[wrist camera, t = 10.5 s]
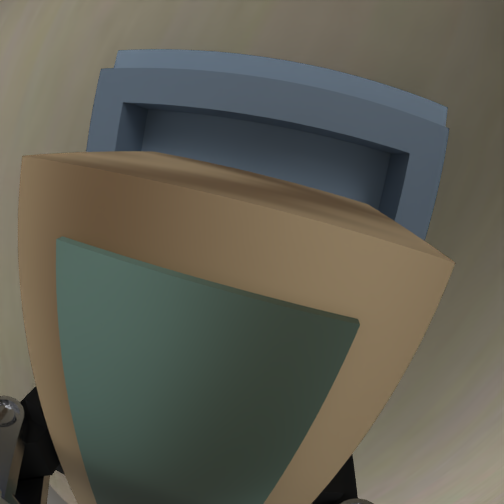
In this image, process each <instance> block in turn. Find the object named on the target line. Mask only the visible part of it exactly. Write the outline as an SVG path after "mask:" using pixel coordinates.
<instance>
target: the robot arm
mask: <svg viewBox="0 0 504 504" xmlns="http://www.w3.org/2000/svg"><path fill="white" fill-rule="evenodd" d="M55 470H57V471H59V472H61V473H62V474H64V475H65V473H64V471H63V468H62V466H61V463H60V461H59V458H58V455H57V453H56V450H55V447H54V444H53V442H52V439H51V436H50V433H49V430H48V426H47V423H46V420H45V417H44V413H43V410H42V406H41V403H40V399H39V395H38V391H37V387H35V388H34V389H33V390H32V391H31V392H30V393H29V394H28V395H27V396H26V397H25V398H24V399H23V400H22V401H21V402H19V401H18V400H16V399H15V398H12V397H9V396H0V504H47V495H48V487H49V479H50V475H52V474H53V473H54V471H55ZM311 504H373V503H372V502H370V501H367V500H364V499H359V498H358V497H357V488H356V479H355V471H354V464H353V456H352V455H351V456H350V457H349V459H348V460H347V461H346V462H345V464H344V465H343V466H342V468H341V469H340V470H339V471H338V473H337V474H336V475H335V476H334V478H333V479H332V480H331V481H330V482H329V484H328V485H327V486H326V487H325V488H324V490H323V491H322V492H321V493H320V494H319V495H318V497H317V498H316V499H315V500H314V501H313V502H312V503H311Z"/></svg>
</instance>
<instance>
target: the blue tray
mask: <svg viewBox="0 0 504 504" xmlns="http://www.w3.org/2000/svg"><path fill="white" fill-rule="evenodd" d="M447 110H448V107H445V106H443V105H441V104H438V103H436V102H433V101H431V100H428V99H425V98H423V97H420V96H417V95H415V94H412V93H409V92H406V91H403V90H400V89H398V88H395V87H391V86H388V85H385V84H382V83H379V82H375V81H372V80H369V79H365V78H362V77H358V76H354V75H351V74H347V73H343V72H339V71H335V70H331V69H326V68H322V67H317V66H313V65H308V64H303V63H297V62H292V61H286V60H280V59H274V58H268V57H261V56H253V55H245V54H236V53H226V52H214V51H199V50H172V49H144V50H118V53H117V57H116V61H115V65H114V68H106V69H101V71H100V76H99V80H98V85H97V90H96V95H95V100H94V105H93V110H92V116H91V122H90V129H89V135H88V142H87V150H86V152H106V151H154V152H159V153H164V154H170V155H175V156H180V157H185V158H190V159H195V160H200V161H204V162H209V163H214V164H218V165H223V166H227V167H232V168H236V169H240V170H245V171H249V172H253V173H257V174H261V175H265V176H269V177H273V178H277V179H281V180H285V181H289V182H293V183H296V184H300V185H304V186H307V187H311V188H315V189H318V190H322V191H325V192H329V193H332V194H336V195H339V196H343V197H346V198H349V199H353V200H356V201H359V202H362V203H366V204H368V205H370V206H371V207H373V208H375V209H376V210H378V211H380V212H381V213H383V214H384V215H386V216H387V217H389V218H391V219H392V220H394V221H395V222H397V223H398V224H400V225H401V226H403V227H404V228H406V229H407V230H409V231H410V232H412V233H413V234H415V235H416V236H418V237H419V238H421V239H422V240H424V241H425V238H426V234H427V231H428V227H429V223H430V220H431V216H432V212H433V208H434V204H435V200H436V196H437V191H438V187H439V182H440V178H441V173H442V168H443V163H444V158H445V152H446V147H447V141H448V134H449V128H447V127H445V125H446V118H447Z"/></svg>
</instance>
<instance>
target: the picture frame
mask: <svg viewBox="0 0 504 504" xmlns="http://www.w3.org/2000/svg"><path fill="white" fill-rule="evenodd" d="M18 259H19V278H20V290H21V301H22V310H23V318H24V325H25V332H26V338H27V344H28V350H29V355H30V360H31V365H32V370H33V374H34V379H35V383H36V387H37V391H38V395H39V399H40V403H41V406H42V410H43V413H44V417H45V420H46V423H47V426H48V430H49V433H50V436H51V439H52V442H53V444H54V447H55V450H56V453H57V455H58V458H59V461H60V463H61V466H62V468H63V471H64V473H65V476H66V478H67V480H68V483H69V485H70V487H71V490H72V492H73V494H74V496H75V498H76V500H77V503H78V504H311V503H312V502H313V501H314V500H315V499H316V498H317V497H318V495H319V494H320V493H321V492H322V491H323V490H324V488H325V487H326V486H327V485H328V484H329V482H330V481H331V480H332V479H333V478H334V476H335V475H336V474H337V473H338V471H339V470H340V469H341V468H342V466H343V465H344V464H345V462H346V461H347V460H348V459H349V457H350V456H351V455H352V453H353V452H354V450H355V449H356V448H357V446H358V445H359V444H360V442H361V441H362V439H363V438H364V437H365V435H366V434H367V432H368V431H369V429H370V428H371V426H372V425H373V423H374V422H375V420H376V419H377V417H378V416H379V414H380V413H381V411H382V410H383V408H384V406H385V405H386V403H387V402H388V400H389V398H390V397H391V395H392V393H393V392H394V390H395V388H396V387H397V385H398V383H399V382H400V380H401V378H402V376H403V375H404V373H405V371H406V369H407V368H408V366H409V364H410V362H411V360H412V358H413V356H414V355H415V353H416V351H417V349H418V347H419V345H420V343H421V341H422V339H423V337H424V335H425V333H426V331H427V329H428V327H429V325H430V322H431V320H432V318H433V316H434V314H435V312H436V309H437V307H438V305H439V302H440V300H441V298H442V296H443V293H444V291H445V288H446V286H447V283H448V281H449V278H450V276H451V273H452V271H453V268H454V265H455V262H454V261H452V260H451V259H449V258H448V257H447V256H445V255H444V254H443V253H441V252H440V251H438V250H437V249H435V248H434V247H433V246H431V245H430V244H428V243H427V242H425V241H424V240H422V239H421V238H419V237H418V236H416V235H415V234H413V233H412V232H410V231H409V230H407V229H406V228H404V227H403V226H401V225H400V224H398V223H397V222H395V221H394V220H392V219H391V218H389V217H387V216H386V215H384V214H383V213H381V212H380V211H378V210H376V209H375V208H373V207H371V206H370V205H368V204H366V203H362V202H359V201H356V200H353V199H349V198H346V197H343V196H339V195H336V194H332V193H329V192H325V191H322V190H318V189H315V188H311V187H307V186H304V185H300V184H296V183H293V182H289V181H285V180H281V179H277V178H273V177H269V176H265V175H261V174H257V173H253V172H249V171H245V170H240V169H236V168H232V167H227V166H223V165H218V164H214V163H209V162H204V161H200V160H195V159H190V158H185V157H180V156H175V155H170V154H164V153H159V152H154V151H106V152H74V153H54V154H39V155H27V156H22V165H21V175H20V188H19V206H18Z"/></svg>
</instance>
